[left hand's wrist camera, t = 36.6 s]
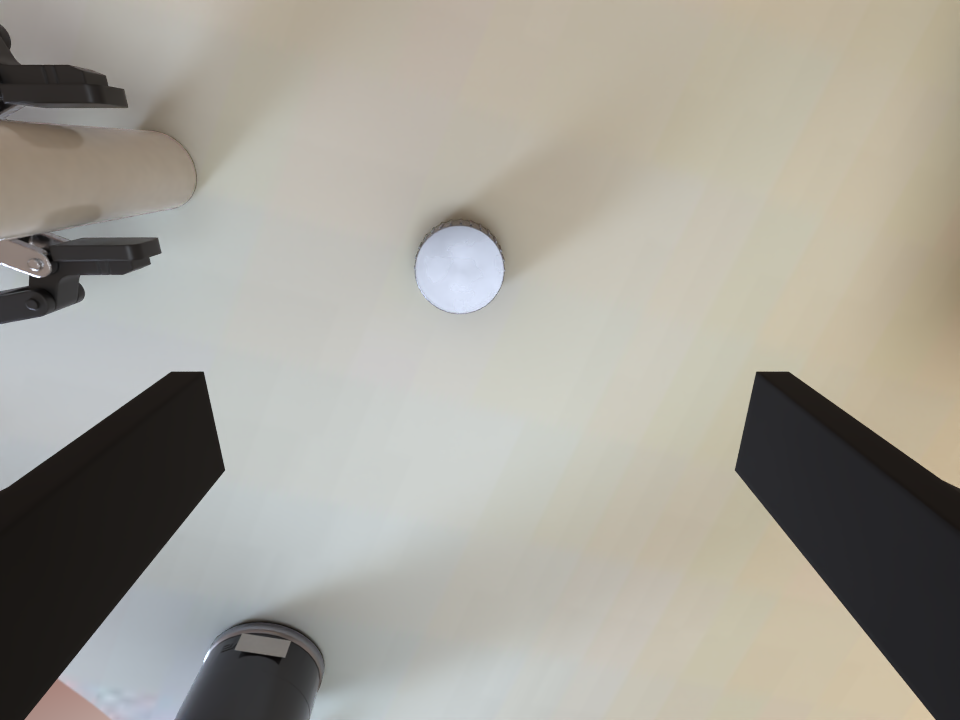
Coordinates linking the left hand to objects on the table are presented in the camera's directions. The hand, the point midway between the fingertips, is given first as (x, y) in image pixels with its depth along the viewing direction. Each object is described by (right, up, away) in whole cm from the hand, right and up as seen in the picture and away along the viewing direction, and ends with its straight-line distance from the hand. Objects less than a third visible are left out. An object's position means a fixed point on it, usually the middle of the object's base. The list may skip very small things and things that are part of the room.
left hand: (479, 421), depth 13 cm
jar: (-18, +12, +16) cm, 27 cm away
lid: (-1, +7, +16) cm, 18 cm away
